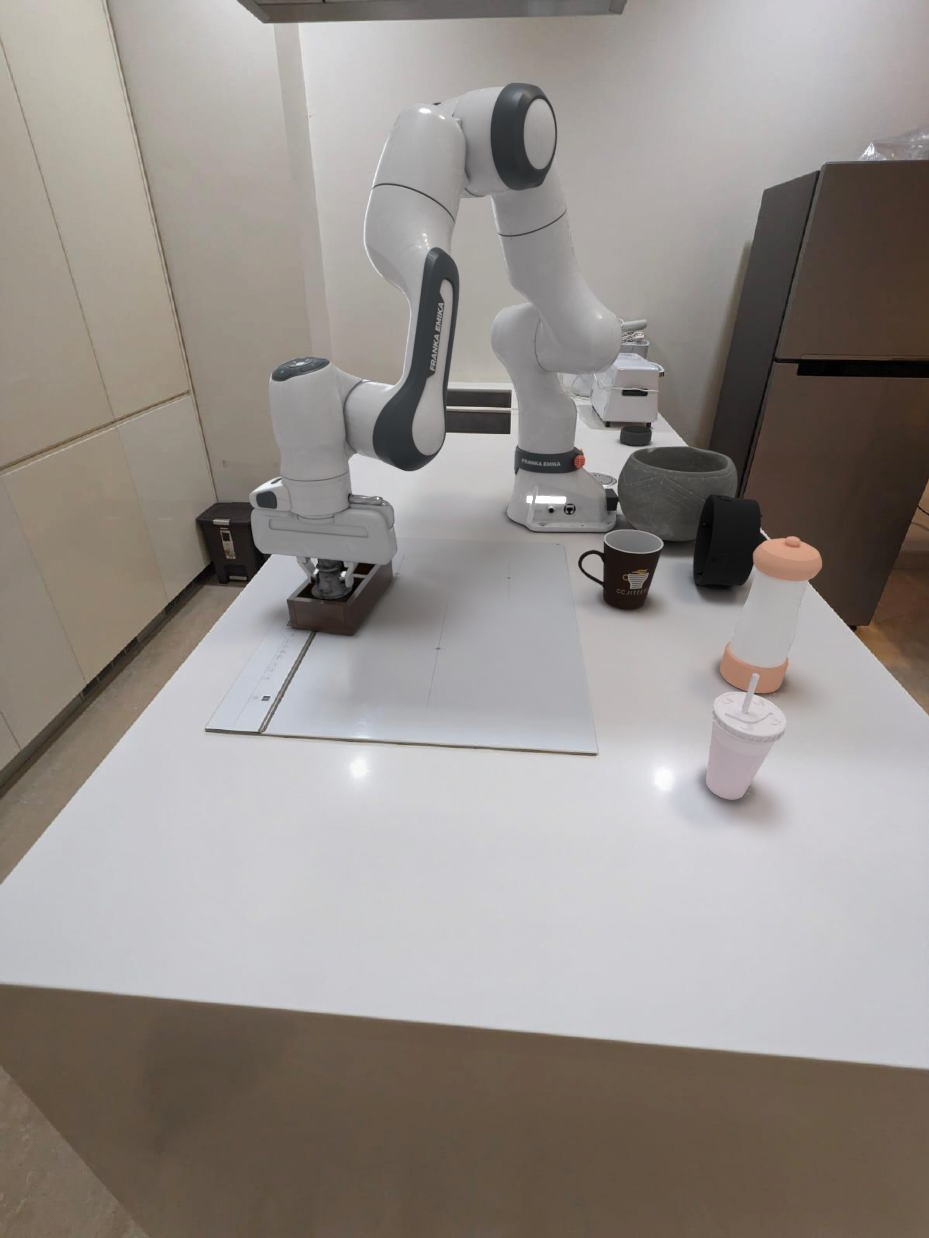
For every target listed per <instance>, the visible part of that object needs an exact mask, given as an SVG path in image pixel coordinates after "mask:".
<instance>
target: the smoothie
mask: <svg viewBox="0 0 929 1238" xmlns="http://www.w3.org/2000/svg"><path fill="white" fill-rule="evenodd" d="M758 679H759V674H756V673H754V674H753V675H752V678H751V681H750V685H749V688H748V691H728V692H724V693H722V694H720V695H718V696H717V697H716V698H715V699H714V701H713V703H712V704H713V705H712V707H711V709H710V717H711V719H712V724H711V734H710V741H709V742H710V744H709V750H708V751H709V752H708V758H707V768H706V775H705V784H706V786H707V788H708V789H709V791H710V792H711V793H713V795H716V796H717V797H720V798H721V799H724V800H730V801H733V800H734V801H735V800H739V799H741V798H742V797H744V795H745V793H746V792H747V790H748V788H749V786H750V785H751V783H752V782H753V780H754V778H755V777H756V775H757V774H758V771H759V770H760V768H761V766H762V765H763V763H764V762H765V760H766V758H767V756H768V755H769V753H770V751H772V748H773V746H774V745H775V743H776V742H777V741H780V740H781V739H782V738H784V737H783V736H784V735H785V731H786V728H787V723H788V722H787V718H786V715H785V714H784V712H783V711H782V709H780V707H779V706H777V705H776V704H775V703H773V702H772V701H770V700H769V699H767V698H765V697H762V696H760V695H757V694H755V693H754V691H755V688H756V685H757V682H758Z"/></svg>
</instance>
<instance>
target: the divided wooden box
mask: <svg viewBox="0 0 929 1238" xmlns="http://www.w3.org/2000/svg"><path fill="white" fill-rule="evenodd" d="M340 562H341V567H340V573H341V574H342V572H343V571H346V572H347V569H348V567H344V561H340ZM353 579H354V582H353V585H352V590H351V594H350V598H349V599H348V600H347V602H346V603H344V602H335V601H326V600H318V599H315V596H314V595H313V594H312V588H313V587H314V586H315V585H316V584H312V583H308V579H307V578H306V579H305V580H304V581H303V582H302V583H301V584H300V585H299V586H298V587H297V588H296V589H295V590H294V591H292V593H291V594H290V595H289V597H287V598H286V605H287V609H288V615H289V621H290V626H291V629H296V630H302V631H303V630H305V631H312V632H320V633H327V634H335V635H344V636H351V637H352V636H353V637H354V635H355V634H356V633H357V631H358V629H360V627H361V626H362V624H363V622H364V621H365V619H366V618H367V617H368V615H369V614H370V613H371V611H372V610H373V608H374V606H375V605H377V602H378V601H379V599H380V598H381V597H382V595H383V594H384V593H385V591H386V589H387V588H388V586H389V585H390V583H391V582H392V581H393V580H394V573H393V559H392V560H391V561H390V562H389V563H388V564H386V565H379V564H369V563H358V565H357V566H356V568H355V570H354V572H353Z"/></svg>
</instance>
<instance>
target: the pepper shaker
mask: <svg viewBox="0 0 929 1238" xmlns="http://www.w3.org/2000/svg"><path fill="white" fill-rule="evenodd" d="M753 562H754V565H753V566H754V567H755V568H756V570H755V574H754V577H753V579H752V583H751V587H750V590H749V593H748V596H747V598H746V601H745V603H744V605H743V607H742V608H741V610H740V612H739V614H738V615H737V616H738V617H737V618H736V621H735V623H734V627H733V630H732V635H731V639H730V641H729V642H728V643H727V644H726V645H725V647H724V652H723V655H722V658H721V663H720V666H719V673H720V674H721V678H722V679H724V680H725V681H726V682H727V683H728V684H730V685H731V686H733V687H735V688H737V689H740V690H742V691H743V692H747V691H748V688H749V685H750V681H751V678H752V675H753V674H754V673H756V674H759V679H758V682H757V685H756V688H755V691H754V694H769V693H773V692H775V691H777V690H780V687H781V686H782V683H783V680H784V677H785V675H786V672H787V670H788V666H789V657H788V656H789V653H790V651H791V648H792V645H793V643H794V640H795V637H796V631H797V625H798V624H797V623H798V617H799V611H800V607H801V604H802V601H803V598H804V595H805V592H806V589H807V587H808V583H809V580H811V579H814V578H815V577H816V576H817V575H818V574H819V573H820V571H821V570H822V568H823V560H822V556H821V554H820V552H819V550H818V549H817V548H815V547H813V546H812V545H810V544H808V543H806V542H804V541H801V539H800V538H799V537H797V536H794V535H793V536H792V535H790V536H787V537H786V538H785V537H781V538H780V537H779V538H771V539H767V541H764V542H763V543H762V544H760V545H759V546H758V547H757V548H756V550H755V551H754V553H753Z"/></svg>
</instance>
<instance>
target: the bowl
mask: <svg viewBox="0 0 929 1238" xmlns="http://www.w3.org/2000/svg"><path fill="white" fill-rule="evenodd" d="M617 479H618V480H617V488H616V490H617V496H618V498H619V502H618V503H619V507H620V509H621V512H622V514H623V516H624V518H625V519H626V520H627V521H628V522H629V524H630V525H631V526H632V527H634V529H635V530H638V531H643V532H647V533H651V534H653V535H655V536H657V537H659V538H660V539H661V540H662V541H669V542H690V541H693V540H696V535H697V529H698V524H699V520H700V516H701V513H702V509H703V506H704V504H705V501H706V499H707V498H708V496H709V495H710V494H717V495H724V496H729V497H731V498H736V493H737V490H738V489H737V488H738V470H737V468H736V465H735V463H734V462H733V460H732V458H730V456H727V455H725V454H723V453H720V452H718V451H713V450H709V449H704V448H699V447H695V446H691V445H684V446H683V445H679V446H676V445H675V446H653V447H644V448H640V449H637V450H634V451H633V452H632V453H631V454H630V455H629V457H628V458H626V461H625V463H624V465H623V466H622V468H621V471H620V473H619V476H618V478H617ZM703 525H706V524H705V523H704V524H703Z"/></svg>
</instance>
